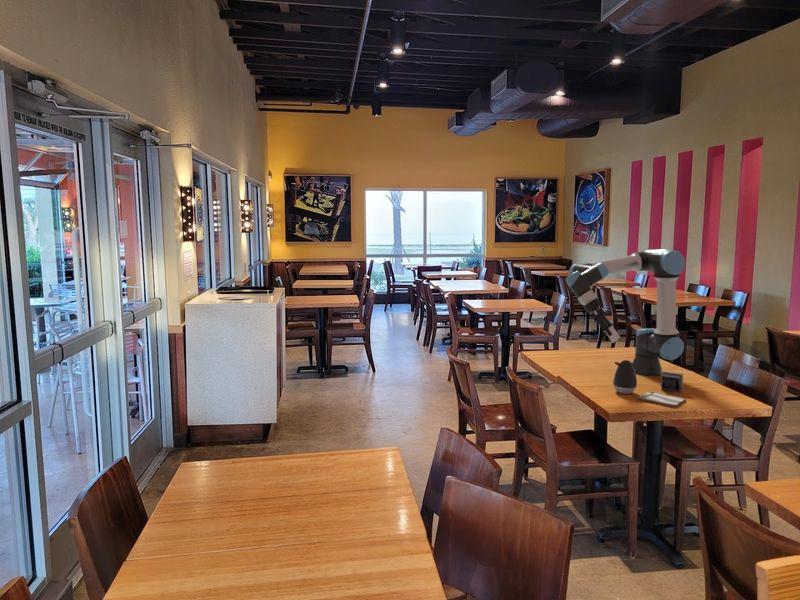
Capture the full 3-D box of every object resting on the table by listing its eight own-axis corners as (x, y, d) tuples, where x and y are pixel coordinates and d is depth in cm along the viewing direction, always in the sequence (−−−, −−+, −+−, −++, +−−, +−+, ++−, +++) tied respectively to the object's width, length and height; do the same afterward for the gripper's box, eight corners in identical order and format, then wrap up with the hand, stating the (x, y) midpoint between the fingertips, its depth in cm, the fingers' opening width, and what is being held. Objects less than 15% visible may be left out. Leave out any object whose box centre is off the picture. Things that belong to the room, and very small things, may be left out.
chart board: (648, 393, 275) (648, 390, 275) (685, 401, 265) (685, 398, 265) (637, 400, 265) (637, 397, 265) (675, 408, 255) (675, 405, 254)
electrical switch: (682, 391, 280) (683, 372, 278) (680, 395, 276) (682, 375, 274) (661, 388, 285) (662, 369, 283) (659, 391, 281) (659, 372, 279)
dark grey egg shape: (608, 389, 282) (610, 357, 280) (629, 389, 283) (631, 357, 281) (618, 395, 271) (620, 362, 270) (640, 395, 272) (642, 362, 270)
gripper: (586, 305, 294) (611, 342, 290) (579, 307, 271) (606, 347, 267) (599, 296, 292) (625, 333, 287) (593, 297, 269) (621, 338, 264)
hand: (616, 340), depth 277 cm, fingers open, 13 cm apart
